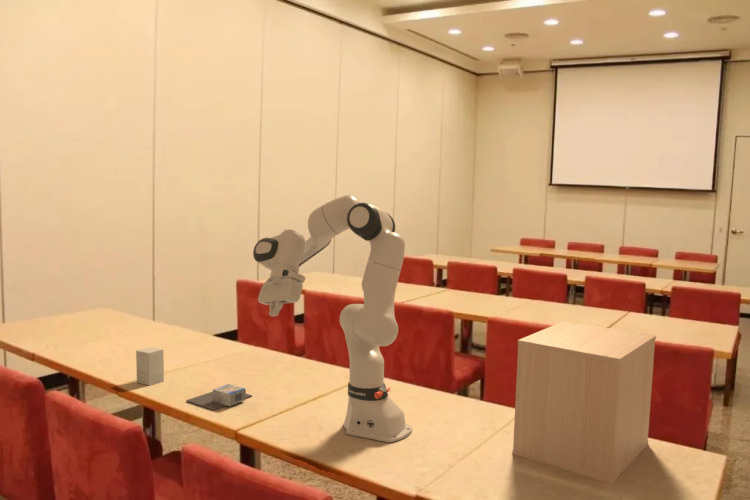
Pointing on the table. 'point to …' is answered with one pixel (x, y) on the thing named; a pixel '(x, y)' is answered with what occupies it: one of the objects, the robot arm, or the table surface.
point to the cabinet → (583, 398)
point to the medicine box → (229, 395)
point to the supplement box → (150, 366)
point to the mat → (208, 401)
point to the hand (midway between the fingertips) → (273, 315)
